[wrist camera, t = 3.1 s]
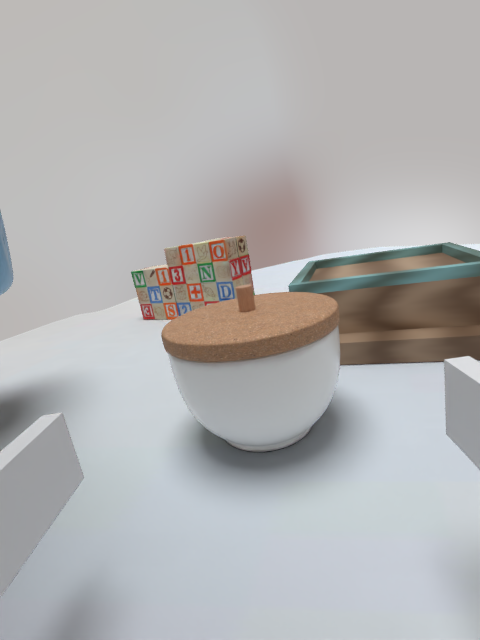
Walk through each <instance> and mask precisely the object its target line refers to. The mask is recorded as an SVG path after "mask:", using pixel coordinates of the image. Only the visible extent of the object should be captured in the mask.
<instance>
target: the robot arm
mask: <svg viewBox="0 0 480 640" xmlns="http://www.w3.org/2000/svg"><path fill="white" fill-rule="evenodd" d="M12 282H13V270H12V264H11V258H10V252H9V247H8V242H7V237H6V233H5V228H4V224H3V220H2V215H1V212H0V295H1V294H3V293H4V292H6V291H7V290H8V289H9V287H10V286H11V285H12ZM444 371H445V412H446V434H447V435H448V437H449V438H450V439H451V440H452V441H453V442H454V443H455V444H456V445H457V446H458V447H459V448H460V449H461V450H462V451H463V453H464V454H465V455H466V456H467V457H468V458H469V459H470V460H471V461H472V462H473V463H474V464H475V465H476V466H477V467H478V468H479V470H480V362H478V361H477V360H475V359H473V358H472V357H470V356H465V357H458V358H451V359H444ZM83 479H84V475H83V472H82V469H81V466H80V463H79V461H78V458H77V455H76V452H75V449H74V446H73V443H72V440H71V437H70V434H69V431H68V428H67V425H66V422H65V419H64V416H63V413H55V414H48V415H42V416H41V417H40V418H39V419H37V420H36V421H35V422H34V423H33V424H32V425H30V426H29V427H28V428H27V429H26V430H25V431H23V432H22V433H21V434H20V435H19V436H18V437H16V438H15V439H14V440H13V441H12V442H11V443H10V444H8V445H7V446H6V447H5V448H4V449H3V450H1V451H0V598H1V596H2V595H3V594H4V592H5V591H6V589H7V588H8V586H9V585H10V584H11V582H12V581H13V579H14V578H15V576H16V575H17V573H18V572H19V571H20V569H21V568H22V566H23V565H24V563H25V562H26V561H27V559H28V558H29V556H30V555H31V553H32V552H33V551H34V549H35V548H36V546H37V545H38V543H39V542H40V540H41V539H42V538H43V536H44V535H45V533H46V532H47V530H48V529H49V528H50V526H51V525H52V523H53V522H54V520H55V519H56V517H57V516H58V515H59V513H60V512H61V510H62V509H63V507H64V506H65V505H66V503H67V502H68V500H69V499H70V497H71V496H72V494H73V493H74V492H75V490H76V489H77V487H78V486H79V484H80V483H81V482H82V480H83Z"/></svg>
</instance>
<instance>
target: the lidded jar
mask: <svg viewBox="0 0 480 640" xmlns="http://www.w3.org/2000/svg"><path fill="white" fill-rule="evenodd" d="M235 289H236V295H237V298H235V299H230V300H226V301H222V302H218V303H214V304H210V305H207V306H204V307H201V308H198V309H195V310H192V311H190V312H187V313H185V314H183V315H181V316H179V317H177V318H175V319H174V320H172V321H171V322H169V323H168V324H167V325H166V326H165V327H164V329H163V330H162V335H161V336H162V341H163V345H164V348H165V350H166V351H167V353H168V356H169V361H170V365H171V368H172V372H173V375H174V379H175V381H176V384H177V386H178V389H179V391H180V394H181V396H182V398H183V400H184V401H185V403H186V405H187V407H188V409H189V410H190V412H191V413H192V414H193V416H194V417H195V418H196V419H197V420H198V421H199V422H200V424H202V425H203V426H204V427H205V428H206V429H207V430H209V431H210V432H212V433H213V434H215V435H217V436H219V437H220V438H223V439H225V440H226V441H227V442H228V443H229V444H230V445H232V446H233V447H236V448H238V449H241V450H245V451H252V452H266V451H273V450H278V449H282V448H285V447H288V446H290V445H292V444H294V443H296V442H298V441H299V440H301V439H302V438H303V437H304V436H305V435H306V434H307V433H308V432H309V431H310V429H311V427H312V425H313V424H314V423H315V422H316V421H317V420H318V419H319V418H320V417H321V416H322V415H323V413H324V412H325V410H326V409H327V407H328V406H329V404H330V402H331V400H332V398H333V395H334V392H335V389H336V386H337V383H338V376H339V370H340V339H339V327H338V324H339V322H340V317H339V306H338V303H337V302H336V301H335V300H334V299H333V298H331V297H329V296H326V295H323V294H317V293H309V292H280V293H268V294H260V295H254V294H253V288H252V285H251V284H248V285H241V286H237V287H235Z"/></svg>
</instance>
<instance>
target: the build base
mask: <svg viewBox="0 0 480 640" xmlns="http://www.w3.org/2000/svg"><path fill="white" fill-rule="evenodd" d="M289 292H309V293H317V294H323V295H326V296H329V297H331V298H333V299H334V300H335V301H336V302H337V303H338V306H339V317H340V322H339V324H338V327H339V339H340V365H349V364H379V363H408V362H437V361H444V359H451V358H458V357H465V356H470V357H472V358H473V359H475V360H480V251H477V250H474V249H471V248H467V247H464V246H460V245H457V244H453V243H450V242H448V243H442V244H434V245H426V246H419V247H412V248H404V249H397V250H390V251H383V252H375V253H368V254H361V255H353V256H346V257H339V258H331V259H324V260H317V261H309V262H308V263H307V264H306V266H305V267H304V268H303V269H302V270H301V271H300V273H299V274H298V275H297V276H296V277H295V279H294V280H293V281H292V282H291V283H290V284H289Z"/></svg>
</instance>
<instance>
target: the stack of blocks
mask: <svg viewBox="0 0 480 640" xmlns="http://www.w3.org/2000/svg"><path fill="white" fill-rule="evenodd" d="M164 251H165V255H166V260H167V264H166V265H158V266H152V267H148V268H144V269H140V270H136V271H132V272H131V273H132V277H133V282H134V285H135V288H136V291H137V295H138V299H139V303H140V306H141V311H142V315H143V318H144V319H175V318H177V317H179V316H181V315H183V314H185V313H187V312H190V311H192V310H195V309H198V308H201V307H204V306H207V305H210V304H214V303H218V302H222V301H226V300H230V299H235V298H237V295H236V289H235V287H237V286H241V285H248V284H251V285H252V288H253V281H252V274H251V266H250V259H249V254H248V248H247V241H246V236H239V237H233V238H229V237H225V238H219V239H213V240H207V241H205V242H199V243H193V244H186V245H181V246H176V247H170V248H165V249H164ZM253 294H254V295H255V293H254V288H253Z"/></svg>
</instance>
